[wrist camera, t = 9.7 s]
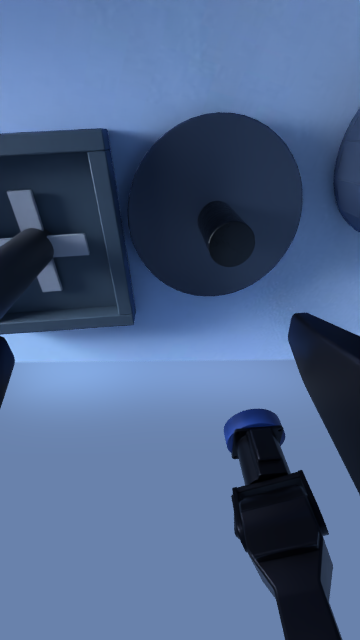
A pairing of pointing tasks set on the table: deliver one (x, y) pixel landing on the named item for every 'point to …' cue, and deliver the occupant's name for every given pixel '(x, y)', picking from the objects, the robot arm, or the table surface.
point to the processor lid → (215, 204)
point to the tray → (69, 229)
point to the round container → (349, 175)
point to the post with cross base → (32, 252)
